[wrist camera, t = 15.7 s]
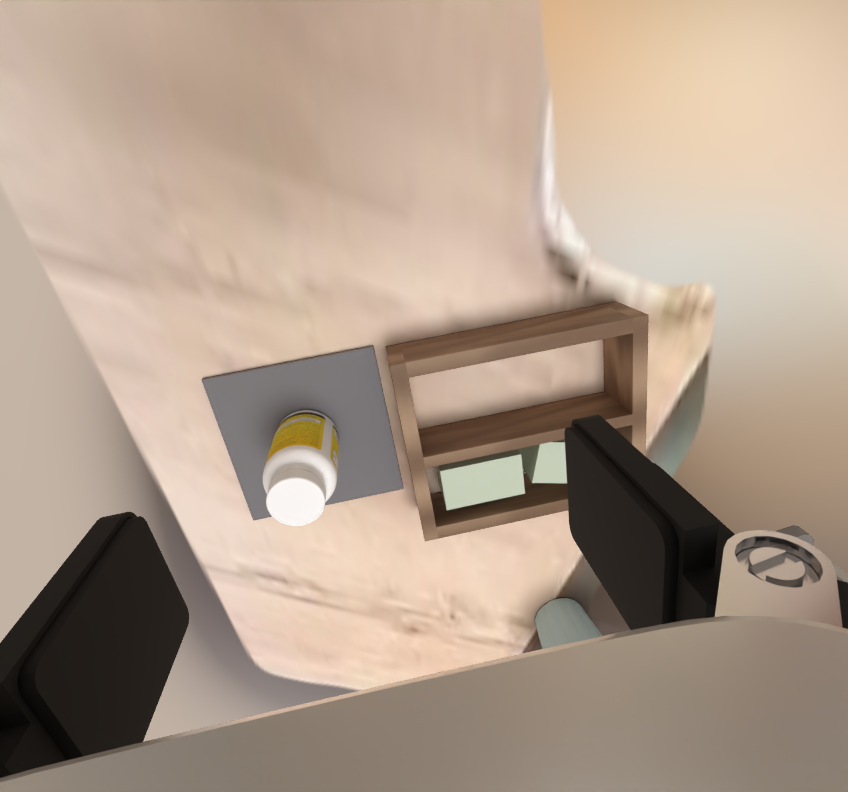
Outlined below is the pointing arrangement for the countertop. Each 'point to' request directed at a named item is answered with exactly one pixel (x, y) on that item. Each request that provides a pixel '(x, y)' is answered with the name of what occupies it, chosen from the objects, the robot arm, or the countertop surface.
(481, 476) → the offcut
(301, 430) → the supplement bottle
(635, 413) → the rack
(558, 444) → the offcut
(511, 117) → the countertop surface
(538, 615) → the cup
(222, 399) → the mat
